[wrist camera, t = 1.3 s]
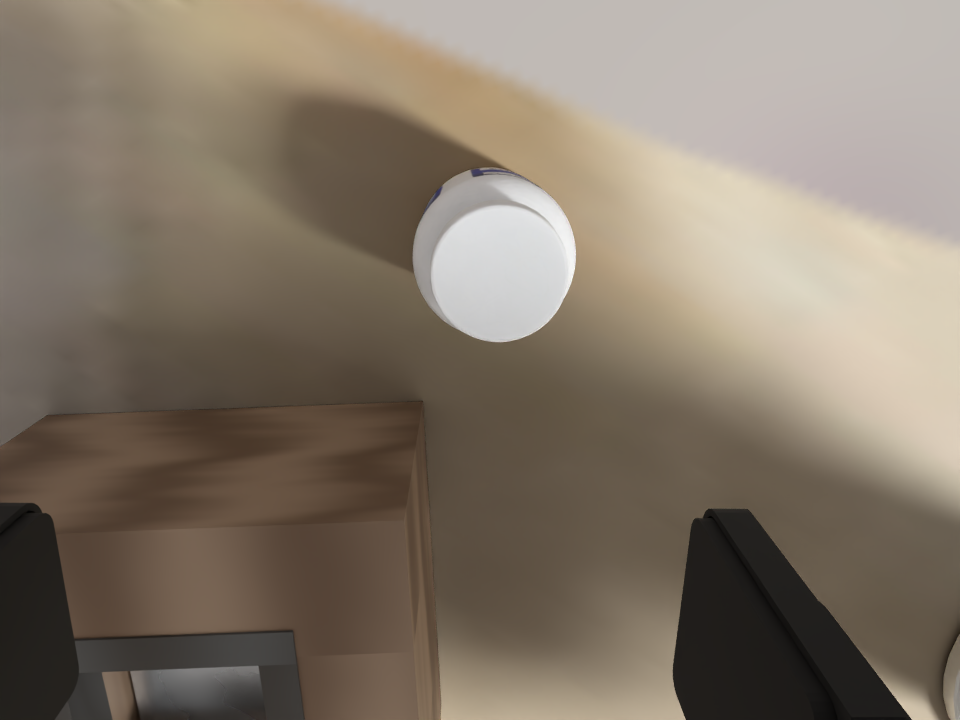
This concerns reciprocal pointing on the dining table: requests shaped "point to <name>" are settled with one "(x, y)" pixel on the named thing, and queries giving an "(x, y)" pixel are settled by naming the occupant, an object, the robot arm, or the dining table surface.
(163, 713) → the plunger
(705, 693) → the robot arm
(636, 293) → the dining table surface
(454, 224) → the pill bottle
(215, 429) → the brown box with opening
